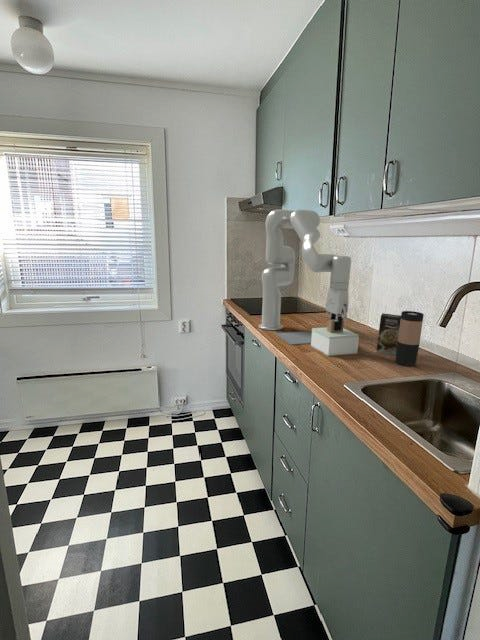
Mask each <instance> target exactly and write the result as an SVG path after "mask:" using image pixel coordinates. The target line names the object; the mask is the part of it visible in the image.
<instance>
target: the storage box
mask: <svg viewBox="0 0 480 640" xmlns="http://www.w3.org/2000/svg"><path fill="white" fill-rule="evenodd" d="M311 333H312V338H311V344H310V346H311V348H313V349H315V350H317V351H319V352H321V353H322V354H324V355H326V356H328V357H331V356H332V357H333V356H343V355H355V354H358V348H359V340H360V336H359V337H355V338H341V339H328V338H326V337H324V336H322V335H320V334H318V333H316V332H314V331H312V330H311Z"/></svg>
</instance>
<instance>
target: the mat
mask: <svg viewBox="0 0 480 640" xmlns="http://www.w3.org/2000/svg"><path fill="white" fill-rule="evenodd" d="M274 334H275V336H277V337H279V338H280V339H281V340H283V341H285V343H287V344H289V345H291V346H298V345H311V338H312V332H309V331H293V332H277V333H274Z"/></svg>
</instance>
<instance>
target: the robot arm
mask: <svg viewBox="0 0 480 640" xmlns="http://www.w3.org/2000/svg"><path fill="white" fill-rule="evenodd" d="M320 222H321V219H320V216H319V214H318V213H317V212H316V211H315V210H311V209H310V210H308V209H296V210H289V209H281V208H280V209H274V210H272V211H270V212H269V213H268V215H266V219H265V232H266V235H265V236H266V239H265V240H266V241H265V262H266V264H268V265H273V266H274V265H275V267H268V268H265V269H264V270H262V273H261V284H262V285H261V286H262V304H261V305H262V309H261V323H259V324H258V328H259V329H261V330H264V331H280V330H282V329H283V327H284V326H283V325H282V324H280V322H281V307H282V306H281V305H282V293H281V290H280V288H279V287H281V286H288V285H291V284H292V282H293V281H294V278H295V277H294V276H295V264H296V263H295V262H296V254H295V250H294V249H293V248H292V247H291V246H288V245H284V234H283V232H282V230H281V229H290V230H291V229H292V230H294V231H295V233H296V234H297V236H298V238H299V239H300V241H301V242H302V245H301V256H302V259H303V261H304V262H305V265H306V266H307V267H308V269H309V270H310V271H312V272H314V273H330V279H329V288H328V291H327V295H326V301H325V310H326V312H327V313H328V318H329V320H330V319H336V321H335V325H334V330H335V331H337V330H341V327H342V321H343V320H345V318H348V315H347V314H348V310H349V287H350V286H349V284H350V275H351V266H352V259H351V258H352V257H350V256H348V255H337V254H330V253H327V254H326V253H325V254H324V253H320V254H319V252H318V251H317V250H316V248H315V246H314V244H316V243H317V242H318V240H319V239H320V237H321V232H320V230H319V229H318V227H319V225H320ZM276 265H277V266H276ZM279 265H280V267H278V266H279Z"/></svg>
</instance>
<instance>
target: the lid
mask: <svg viewBox="0 0 480 640" xmlns="http://www.w3.org/2000/svg"><path fill="white" fill-rule="evenodd" d="M335 321H336V319H330V318H329V319H327V325H326V327H312V328H311V332H312V331H314V332H316V333H318V334H320V335H322V336H324V337H326V338H328V339H341V338H355V337H359V338H360V334H357V333H355V332H353V331H350V330H349V329H346V328H344V325H345V319H343V321H342V327H341V330H337V331H335V330H334V325H335Z"/></svg>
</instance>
